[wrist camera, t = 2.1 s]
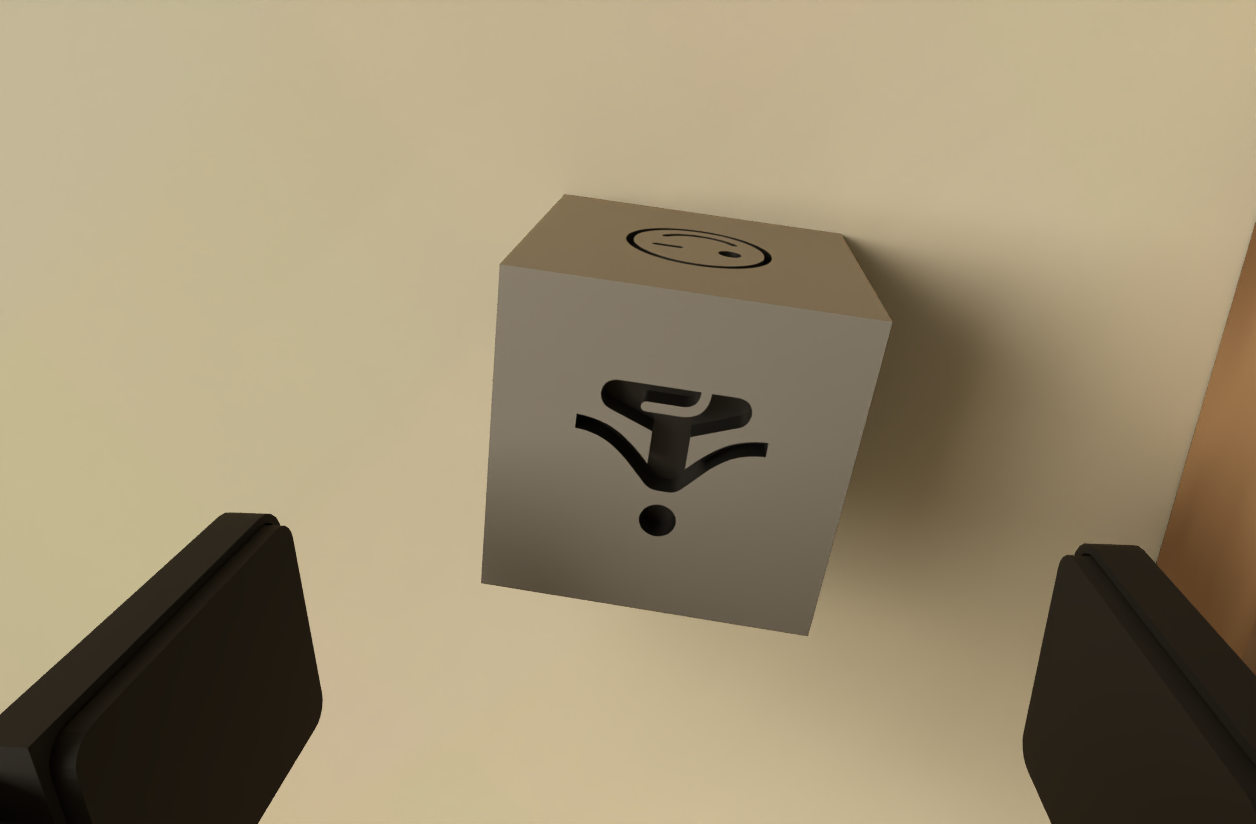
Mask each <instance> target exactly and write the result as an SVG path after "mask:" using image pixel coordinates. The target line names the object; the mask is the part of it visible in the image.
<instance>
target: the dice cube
mask: <svg viewBox="0 0 1256 824" xmlns="http://www.w3.org/2000/svg"><path fill="white" fill-rule="evenodd" d="M892 323H893V322H892V320H891V318H890V317H889V315H888V313H887V312H886V310H885V308H884V306H883V305H882V303H881V301H880V300H879V298H878V296H877V294H876V293H875V291H874V289H873V288H872V286H871V284H870V282H869V281H868V279H867V277H866V276H865V274H864V272H863V271H862V269H861V267H860V265H859V264H858V262H857V260H856V259H855V257H854V255H853V253H852V252H851V250H850V248H849V247H848V245H847V243H846V242H845V240H844V238H843V236H842V235H841V234H837V233H830V232H823V231H816V230H810V229H803V228H796V227H789V226H782V225H775V224H768V223H761V222H754V221H747V220H740V219H733V218H726V217H719V216H712V215H705V214H698V213H691V212H684V211H677V210H670V209H663V208H657V207H650V206H643V205H636V204H629V203H622V202H615V201H608V200H601V199H594V198H587V197H580V196H573V195H566V194H564V196H563V197H562V198H561V199H560V200H559V201H558V202H557V203H556V204H555V205H554V206H553V207H552V208H551V210H550V211H549V212H548V213H547V214H546V215H545V216H544V217H543V218H542V219H541V220H540V221H539V222H538V224H537V225H536V226H535V227H534V228H533V229H532V230H531V231H530V232H529V233H528V234H527V235H526V237H525V238H524V239H523V240H522V241H521V242H520V243H519V244H518V245H517V246H516V247H515V248H514V249H513V251H512V252H511V253H510V254H509V255H508V256H507V257H506V258H505V259H504V260H503V261H502V262H501V263H500V270H499V287H498V304H497V321H496V338H495V356H494V373H493V390H492V407H491V424H490V441H489V458H488V475H487V492H486V509H485V526H484V543H483V560H482V578H481V583H484V584H490V585H496V586H502V587H508V588H515V589H521V590H527V591H533V592H539V593H545V594H551V595H558V596H564V597H570V598H576V599H582V600H588V601H595V602H601V603H607V604H613V605H619V606H625V607H631V608H638V609H644V610H650V611H656V612H662V613H668V614H674V615H681V616H687V617H693V618H699V619H705V620H711V621H718V622H724V623H730V624H736V625H742V626H748V627H754V628H761V629H767V630H773V631H779V632H785V633H791V634H798V635H804V636H808V634H809V630H810V627H811V623H812V619H813V616H814V612H815V608H816V604H817V601H818V597H819V593H820V590H821V586H822V582H823V579H824V575H825V571H826V567H827V564H828V560H829V556H830V553H831V549H832V545H833V541H834V538H835V534H836V530H837V527H838V523H839V519H840V516H841V512H842V508H843V504H844V501H845V497H846V493H847V490H848V486H849V482H850V479H851V475H852V471H853V467H854V464H855V460H856V456H857V453H858V449H859V445H860V441H861V438H862V434H863V430H864V427H865V423H866V419H867V416H868V412H869V408H870V404H871V401H872V397H873V393H874V390H875V386H876V382H877V378H878V375H879V371H880V367H881V364H882V360H883V356H884V353H885V349H886V345H887V341H888V338H889V334H890V330H891V327H892Z"/></svg>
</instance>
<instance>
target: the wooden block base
mask: <svg viewBox="0 0 1256 824" xmlns="http://www.w3.org/2000/svg"><path fill="white" fill-rule="evenodd" d="M1157 566H1158V567H1159V568H1160V569H1161V570H1162V571H1163V572H1164V573H1165V575H1166V576H1167V577H1168V578H1169V579H1170V580H1171V581H1172V582H1173V583H1174V585H1175V586H1176V587H1177V588H1178V589H1179V590H1180V591H1181V592H1182V594H1183V595H1184V596H1185V597H1186V598H1187V599H1188V600H1189V601H1190V602H1191V604H1192V605H1193V606H1194V607H1195V608H1196V609H1197V610H1198V611H1199V613H1200V614H1201V615H1202V616H1203V617H1204V618H1205V619H1206V620H1207V622H1208V623H1209V624H1210V625H1211V626H1212V627H1213V628H1214V629H1215V630H1216V632H1217V633H1218V634H1219V635H1220V636H1221V637H1222V638H1223V639H1224V641H1225V642H1226V643H1227V644H1228V645H1229V646H1230V647H1231V648H1232V649H1233V651H1234V652H1235V653H1236V654H1237V655H1238V656H1239V657H1240V658H1241V660H1242V661H1243V662H1244V663H1245V664H1246V665H1247V666H1248V667H1249V668H1250V670H1251V671H1252V672H1253V673H1254V674H1255V675H1256V223H1255V226H1254V230H1253V233H1252V237H1251V240H1250V244H1249V247H1248V251H1247V254H1246V257H1245V261H1244V264H1243V268H1242V271H1241V275H1240V278H1239V281H1238V285H1237V288H1236V292H1235V295H1234V299H1233V302H1232V306H1231V309H1230V312H1229V316H1228V319H1227V323H1226V326H1225V330H1224V333H1223V337H1222V340H1221V343H1220V347H1219V350H1218V354H1217V357H1216V361H1215V364H1214V367H1213V371H1212V374H1211V378H1210V381H1209V385H1208V388H1207V392H1206V395H1205V398H1204V402H1203V405H1202V409H1201V412H1200V416H1199V419H1198V423H1197V426H1196V429H1195V433H1194V436H1193V440H1192V443H1191V447H1190V450H1189V454H1188V457H1187V460H1186V464H1185V467H1184V471H1183V474H1182V478H1181V481H1180V484H1179V488H1178V491H1177V495H1176V498H1175V502H1174V505H1173V509H1172V512H1171V515H1170V519H1169V522H1168V526H1167V529H1166V533H1165V536H1164V540H1163V543H1162V546H1161V550H1160V553H1159V557H1158V560H1157Z"/></svg>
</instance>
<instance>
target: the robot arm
mask: <svg viewBox="0 0 1256 824" xmlns="http://www.w3.org/2000/svg"><path fill="white" fill-rule="evenodd" d="M322 701H323V699H322V691H321V686H320V680H319V675H318V670H317V664H316V659H315V654H314V648H313V643H312V637H311V632H310V627H309V621H308V616H307V611H306V605H305V600H304V595H303V589H302V584H301V579H300V573H299V568H298V562H297V557H296V552H295V546H294V541H293V537H292V533H291V531H290V530H289V528H288V527H286V526H280V523H279V522H278V520H277V518H276V517H275V516H273V515H271V514H256V513H224V514H222V515H221V516H219V517H218V518H217V519H216V520H215V521H213V522H212V523H211V524H210V525H209V526H208V527H207V528H206V529H205V530H204V531H202V532H201V533H200V534H199V535H198V536H197V537H196V538H195V539H194V540H192V541H191V542H190V543H189V544H188V545H187V546H186V547H185V548H184V549H183V550H181V551H180V552H179V553H178V554H177V555H176V556H175V557H174V558H173V559H171V560H170V561H169V562H168V563H167V564H166V565H165V566H164V567H163V568H162V569H160V570H159V571H158V572H157V573H156V574H155V575H154V576H153V577H152V578H151V579H149V580H148V581H147V582H146V583H145V584H144V585H143V586H142V587H141V588H139V589H138V590H137V591H136V592H135V593H134V594H133V595H132V596H131V597H130V598H128V599H127V600H126V601H125V602H124V603H123V604H122V605H121V606H120V607H118V608H117V609H116V610H115V611H114V612H113V613H112V614H111V615H110V616H109V617H107V618H106V619H105V620H104V621H103V622H102V623H101V624H100V625H99V626H97V627H96V628H95V629H94V630H93V631H92V632H91V633H90V634H89V635H88V636H86V637H85V638H84V639H83V640H82V641H81V642H80V643H79V644H78V645H77V646H75V647H74V648H73V649H72V650H71V651H70V652H69V653H68V654H67V655H65V656H64V657H63V658H62V659H61V660H60V661H59V662H58V663H57V664H56V665H54V666H53V667H52V668H51V669H50V670H49V671H48V672H47V673H46V674H44V675H43V676H42V677H41V678H40V679H39V680H38V681H37V682H36V683H35V684H33V685H32V686H31V687H30V688H29V689H28V690H27V691H26V692H25V693H23V694H22V695H21V696H20V697H19V698H18V699H17V700H16V701H15V702H14V703H12V704H11V705H10V706H9V707H8V708H7V709H6V710H5V711H4V712H3V713H1V714H0V824H258V822H259V821H260V819H261V817H262V816H263V814H264V813H265V811H266V809H267V808H268V806H269V804H270V803H271V801H272V799H273V798H274V796H275V794H276V793H277V791H278V789H279V788H280V786H281V784H282V783H283V781H284V779H285V778H286V776H287V774H288V773H289V771H290V769H291V768H292V766H293V764H294V763H295V761H296V759H297V758H298V756H299V755H300V753H301V751H302V750H303V748H304V746H305V745H306V743H307V741H308V740H309V738H310V736H311V735H312V733H313V731H314V730H315V728H316V726H317V724H318V722H319V719H320V716H321V711H322ZM1023 754H1024V760H1025V764H1026V767H1027V770H1028V772H1029V774H1030V777H1031V779H1032V781H1033V783H1034V786H1035V788H1036V790H1037V792H1038V795H1039V797H1040V799H1041V801H1042V803H1043V806H1044V808H1045V810H1046V812H1047V815H1048V817H1049V819H1050V821H1051V824H1256V675H1255V674H1254V673H1253V672H1252V671H1251V670H1250V668H1249V667H1248V666H1247V665H1246V664H1245V663H1244V662H1243V661H1242V660H1241V658H1240V657H1239V656H1238V655H1237V654H1236V653H1235V652H1234V651H1233V649H1232V648H1231V647H1230V646H1229V645H1228V644H1227V643H1226V642H1225V641H1224V639H1223V638H1222V637H1221V636H1220V635H1219V634H1218V633H1217V632H1216V630H1215V629H1214V628H1213V627H1212V626H1211V625H1210V624H1209V623H1208V622H1207V620H1206V619H1205V618H1204V617H1203V616H1202V615H1201V614H1200V613H1199V611H1198V610H1197V609H1196V608H1195V607H1194V606H1193V605H1192V604H1191V602H1190V601H1189V600H1188V599H1187V598H1186V597H1185V596H1184V595H1183V594H1182V592H1181V591H1180V590H1179V589H1178V588H1177V587H1176V586H1175V585H1174V583H1173V582H1172V581H1171V580H1170V579H1169V578H1168V577H1167V576H1166V575H1165V573H1164V572H1163V571H1162V570H1161V569H1160V568H1159V567H1158V566H1157V564H1156V563H1155V562H1154V561H1153V560H1152V559H1151V558H1150V557H1149V555H1148V554H1147V553H1146V552H1145V551H1144V550H1143V549H1141V548H1140V547H1139V546H1134V545H1112V544H1083V545H1081V546H1079V548H1078V549H1077V551H1076V553H1075V556H1074V555H1066V556H1064V557H1063V558H1062V560H1061V561H1060V564H1059V567H1058V571H1057V576H1056V581H1055V585H1054V590H1053V595H1052V600H1051V604H1050V609H1049V614H1048V619H1047V624H1046V628H1045V633H1044V638H1043V643H1042V647H1041V652H1040V657H1039V662H1038V666H1037V671H1036V676H1035V681H1034V686H1033V690H1032V695H1031V700H1030V705H1029V709H1028V714H1027V719H1026V724H1025V728H1024V733H1023Z"/></svg>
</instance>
